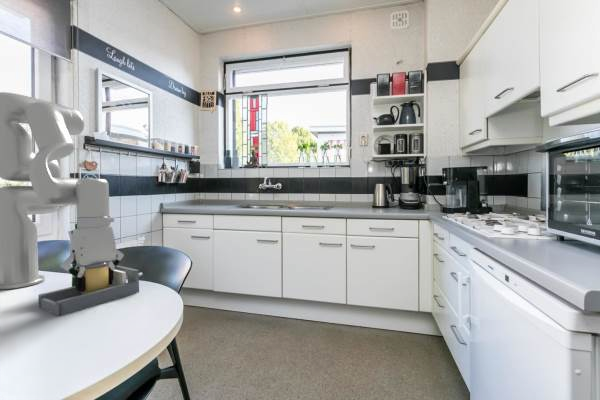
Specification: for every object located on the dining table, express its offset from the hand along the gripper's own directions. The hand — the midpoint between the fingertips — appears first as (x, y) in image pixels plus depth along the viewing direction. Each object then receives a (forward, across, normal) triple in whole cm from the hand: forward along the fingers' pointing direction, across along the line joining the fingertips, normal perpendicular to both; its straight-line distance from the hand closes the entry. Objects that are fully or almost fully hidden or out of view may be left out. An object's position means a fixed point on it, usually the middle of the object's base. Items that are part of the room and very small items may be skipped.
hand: (95, 286), depth 85 cm
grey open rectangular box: (+3, +2, 0) cm, 3 cm away
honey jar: (+1, 0, 0) cm, 1 cm away
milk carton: (+3, -4, -12) cm, 13 cm away
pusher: (+3, -9, 0) cm, 10 cm away
